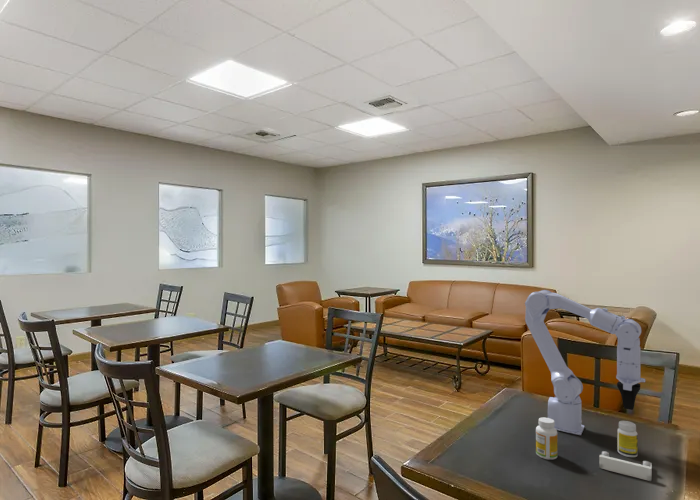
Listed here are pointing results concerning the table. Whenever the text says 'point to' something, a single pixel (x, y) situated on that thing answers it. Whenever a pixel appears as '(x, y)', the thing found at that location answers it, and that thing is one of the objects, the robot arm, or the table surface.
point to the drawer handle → (625, 467)
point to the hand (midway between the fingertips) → (628, 408)
